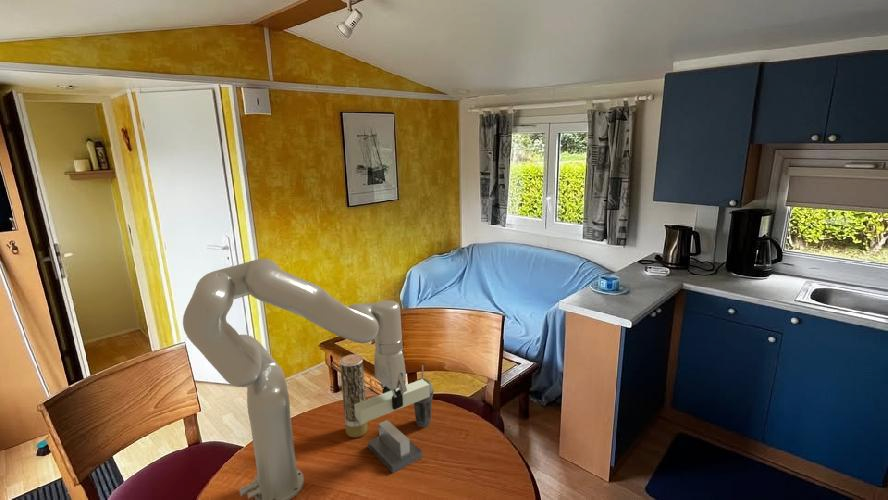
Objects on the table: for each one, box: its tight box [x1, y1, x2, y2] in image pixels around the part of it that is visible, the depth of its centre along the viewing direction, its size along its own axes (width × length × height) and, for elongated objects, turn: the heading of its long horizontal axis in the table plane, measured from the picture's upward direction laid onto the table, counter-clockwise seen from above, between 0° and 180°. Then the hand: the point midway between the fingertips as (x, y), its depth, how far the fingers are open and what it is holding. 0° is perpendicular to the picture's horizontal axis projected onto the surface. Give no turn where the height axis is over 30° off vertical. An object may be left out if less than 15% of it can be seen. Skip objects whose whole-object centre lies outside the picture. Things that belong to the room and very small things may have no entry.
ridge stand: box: [367, 419, 423, 474], centre depth 129 cm, size 10×14×7 cm
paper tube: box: [339, 353, 368, 438], centre depth 136 cm, size 7×7×25 cm
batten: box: [354, 379, 430, 424], centre depth 126 cm, size 22×4×4 cm, turn 124°
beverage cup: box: [413, 364, 434, 428], centre depth 141 cm, size 7×7×20 cm
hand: (393, 403), depth 126 cm, fingers closed on batten, 4 cm apart
